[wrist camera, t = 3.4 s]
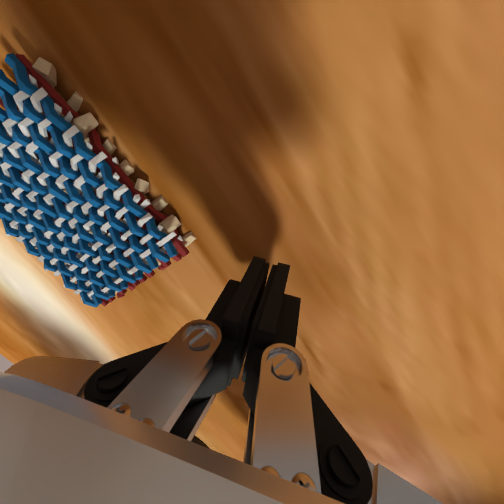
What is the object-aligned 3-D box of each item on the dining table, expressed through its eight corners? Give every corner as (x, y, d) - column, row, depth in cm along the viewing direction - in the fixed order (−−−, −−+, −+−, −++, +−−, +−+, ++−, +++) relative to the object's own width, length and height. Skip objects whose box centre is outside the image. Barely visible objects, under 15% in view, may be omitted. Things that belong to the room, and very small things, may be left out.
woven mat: (114, 299, 18) (92, 318, 16) (-9, 181, 15) (-52, 189, 13) (208, 241, 13) (190, 260, 11) (51, 44, 10) (-6, 29, 8)
